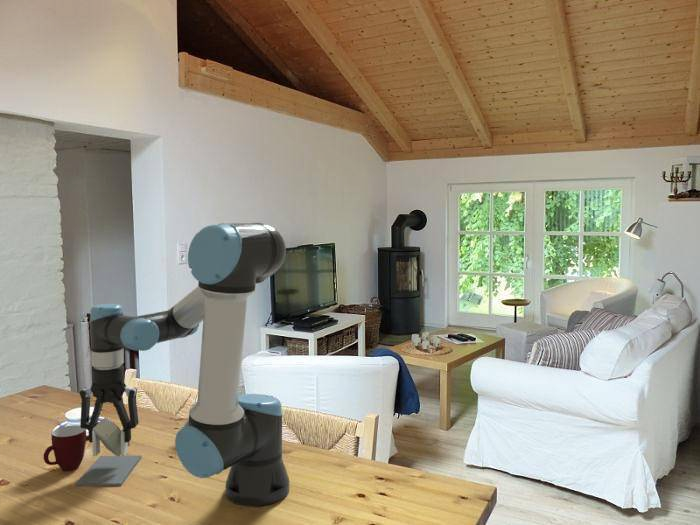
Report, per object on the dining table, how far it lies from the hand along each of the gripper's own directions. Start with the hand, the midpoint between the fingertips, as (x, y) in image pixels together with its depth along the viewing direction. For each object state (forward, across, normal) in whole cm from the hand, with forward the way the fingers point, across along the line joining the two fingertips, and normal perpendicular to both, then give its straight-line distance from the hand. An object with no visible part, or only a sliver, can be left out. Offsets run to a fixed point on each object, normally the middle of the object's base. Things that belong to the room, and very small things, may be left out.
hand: (110, 453), depth 148 cm
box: (0, 0, -5) cm, 5 cm away
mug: (+5, +12, -1) cm, 13 cm away
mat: (+5, 0, 0) cm, 5 cm away
